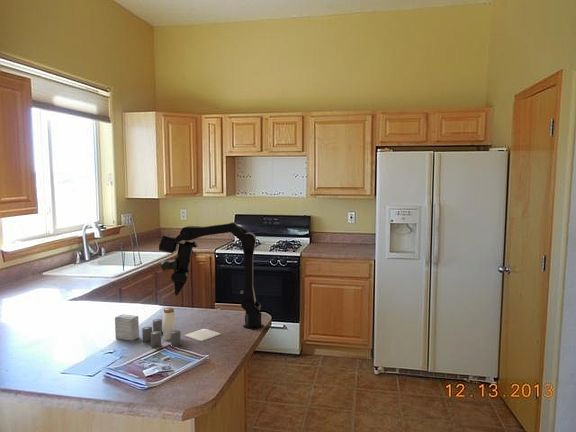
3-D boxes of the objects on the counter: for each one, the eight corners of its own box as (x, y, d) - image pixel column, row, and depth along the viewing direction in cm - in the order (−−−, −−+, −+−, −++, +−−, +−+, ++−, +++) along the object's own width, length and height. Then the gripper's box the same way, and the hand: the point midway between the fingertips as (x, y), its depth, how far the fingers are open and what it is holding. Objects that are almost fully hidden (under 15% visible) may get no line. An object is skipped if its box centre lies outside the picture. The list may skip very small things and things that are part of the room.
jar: (177, 337, 163) (176, 308, 163) (168, 340, 160) (167, 311, 159) (170, 335, 166) (169, 306, 165) (161, 338, 163) (160, 309, 162)
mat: (220, 334, 167) (220, 333, 167) (201, 341, 159) (201, 340, 159) (204, 329, 173) (204, 328, 173) (184, 336, 165) (184, 335, 165)
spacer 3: (163, 345, 155) (163, 332, 155) (154, 348, 152) (154, 335, 152) (157, 343, 157) (157, 330, 157) (149, 346, 155) (148, 333, 154)
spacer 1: (154, 340, 160) (154, 327, 160) (146, 343, 157) (145, 330, 157) (148, 338, 162) (148, 325, 162) (140, 341, 160) (140, 328, 159)
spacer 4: (182, 344, 156) (182, 331, 156) (174, 347, 153) (174, 334, 153) (176, 342, 158) (176, 329, 158) (168, 345, 155) (168, 332, 155)
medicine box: (139, 337, 164) (139, 315, 163) (131, 341, 160) (131, 319, 159) (123, 335, 166) (122, 313, 166) (115, 338, 162) (114, 316, 162)
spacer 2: (164, 332, 170) (163, 320, 169) (156, 334, 167) (156, 322, 166) (158, 330, 172) (158, 318, 171) (151, 332, 169) (150, 320, 169)
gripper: (166, 248, 181) (160, 283, 182) (161, 256, 163) (154, 295, 164) (192, 252, 183) (186, 287, 184) (190, 261, 165) (182, 299, 166)
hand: (177, 291), depth 175 cm, fingers open, 9 cm apart
